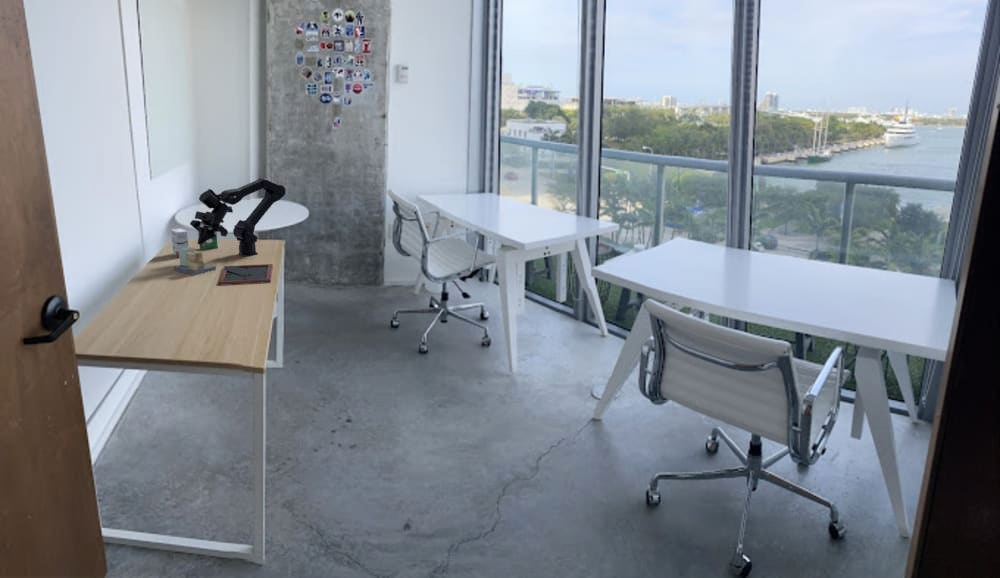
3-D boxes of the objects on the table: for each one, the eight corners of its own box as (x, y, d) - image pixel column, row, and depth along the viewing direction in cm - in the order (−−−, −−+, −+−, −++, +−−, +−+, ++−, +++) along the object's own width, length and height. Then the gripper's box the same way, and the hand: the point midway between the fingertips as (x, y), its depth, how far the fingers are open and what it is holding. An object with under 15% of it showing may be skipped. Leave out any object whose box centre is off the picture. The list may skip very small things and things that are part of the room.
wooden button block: (196, 266, 314) (195, 250, 312) (203, 268, 312) (202, 251, 310) (187, 268, 310) (185, 252, 308) (194, 270, 308) (192, 253, 306)
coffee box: (217, 246, 354) (215, 220, 351) (218, 248, 352) (215, 221, 348) (199, 248, 351) (196, 221, 347) (200, 249, 348) (197, 222, 345)
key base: (194, 264, 323) (194, 261, 323) (215, 269, 316) (215, 266, 316) (173, 270, 315) (173, 266, 314) (194, 275, 308) (194, 271, 307)
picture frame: (224, 270, 318) (218, 286, 295) (224, 265, 318) (218, 281, 295) (272, 267, 323) (270, 283, 300) (272, 263, 323) (270, 279, 300)
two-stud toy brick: (189, 262, 320) (187, 246, 318) (196, 264, 318) (194, 247, 315) (180, 264, 316) (178, 248, 314) (187, 266, 314) (185, 250, 312)
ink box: (190, 256, 337) (187, 231, 334) (178, 257, 334) (175, 232, 331) (184, 252, 343) (181, 227, 340) (173, 254, 340) (170, 229, 337)
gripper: (191, 201, 324) (171, 230, 318) (219, 206, 314) (200, 236, 309) (208, 216, 332) (189, 245, 326) (236, 221, 323) (217, 250, 317)
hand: (198, 244), depth 319 cm, fingers closed
